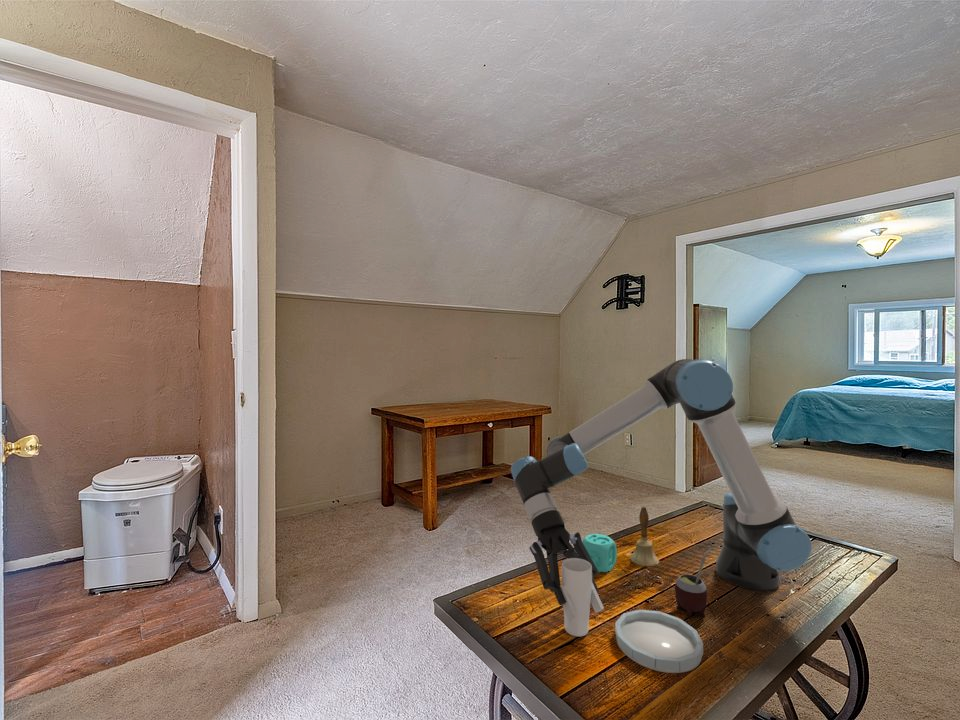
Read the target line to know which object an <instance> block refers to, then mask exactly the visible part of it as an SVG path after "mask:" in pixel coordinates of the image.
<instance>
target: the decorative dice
mask: <svg viewBox="0 0 960 720" xmlns="http://www.w3.org/2000/svg"><path fill="white" fill-rule="evenodd" d="M582 543H583V544H584V546H585V548H586V550H587V552H588V553H589V555H590V557H591V559H592V561H593V562H594V564H595V566H596V568H597V570H598V572H597V573H600V572H604V573H608V571H609V572H610V571H612V570H613V568H614V567H615V565H616V562H617V558H618V549H617V544H616V542H615V541H614V539H612V538H611V537H609V536H608V535H605V534H601V533H589V534H588V535H586V536H584V538H583V539H582Z"/></svg>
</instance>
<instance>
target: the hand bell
mask: <svg viewBox="0 0 960 720" xmlns="http://www.w3.org/2000/svg"><path fill="white" fill-rule="evenodd" d="M639 523H640V527H641V530H640V531H641V534H640V536H641V539H638V540H637V541H636V544H635V545H636V546H635V548H634V551H633V553H631V555H630V556H629V560H630V559H631V560H630V561H631V562H632V563H634V564H635V563H636V564H635V565H638V566H642V567H647V568H648V567H655V566H658V565H659V564H660V560H659V558H658V557H657V556H656V554H655V552H654V548H653V542H652V541H651V540H648V525H649V513H648V510H647V507H646V506H641V509H640V513H639Z"/></svg>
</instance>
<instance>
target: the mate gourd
mask: <svg viewBox="0 0 960 720" xmlns="http://www.w3.org/2000/svg"><path fill="white" fill-rule="evenodd" d="M712 550H713V548H712V547H710V548H709V549H708V550H707V551H705V553H704V555H703V556H702V557H701V560H700V564H699V568H698V572H697V575H693V574H682V575H680V576H679V577H677V578H676V581H675V584H674V595H675V600H676V604H677V605H676V609H677V610H679V611H681V612H685V613H687V614H686V619H688V620H691V618H692V617H693V615H694V616H699V617H701V618H705V617H706V614H705V611H706V610H707V606H708V590H707V586H706V584H705V583H704V581H703V579H701V578H700V577H701V574H702V570H703V566H704V564H705V562H706V558H707V556H708V555H709V554H710V553H711V551H712Z"/></svg>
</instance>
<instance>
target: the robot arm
mask: <svg viewBox="0 0 960 720" xmlns="http://www.w3.org/2000/svg"><path fill="white" fill-rule="evenodd" d="M732 379H733V378H731V375H730V373H729V372H728V371H727V370H726V369H725V368H724V367H723V366H722V365H720V364H718V363H716V362H713V361H711V360H709V359H691V358H685V359H683V358H682V359H678V360H676V361H674V362H672V363H670V364H668V365H667V366H665V367H664V368H662V369H661V370H659V371H658V372H656V373H655V374H653V375H652V376H651V377H648V378H647V379H646V380H645V381H644V384H643V386H642V387H639V388H637V389H636V390H635V391H633V392H632V393H630V394H628V395H627V396H626V397H624V398H622V399H620V400H619V401H617V402H616V403H614V404H612V405H611V406H609V407H607V408H606V409H604V410H603V411H601V412H599V413H598V414H595V416H593V417H591V418H590V419H588V420H587V421H584V422H583V423H582V424H580V425H579V426H578V425H577V427H575V428H573V429H572V430H570V431H568V432H567V433H565V434H564V435H562V436H561V437H560V436H557V437H555V438H553V439H551V440H550V442H549V443H548V445H547V448H546V455H547V456H544V457H543V458H541V459H539V460H537V459H536V458H535V457H534V456H530V455H529V456H528V455H527V456H524V457H520V458H518V459H516V460H515V461H514V462H513V463H512V464H511V467H510V472H511V476H512V478H513V483H514V485H515V487H516V489H517V492H518V494H519V497H520V499H521V502H522V504H523V506H524V508H525V511H526V513H527V516H528V518H529V521H531V522H530V523H531V526H532V529H533V531H534V534H535V536H536V537H537V541H534V542H533V543H532V544H531V545H530V546H529V550H530V552H531V554H532V556H533V557H534V560H535V564H536V568H537V570H538V574H539V577H540V581H541V584H542V587H543V589H544V590H550V592H552V593H554V595H555V598H556V601H557V603H558V605H559V606H562V608H563V612H564V611H565V613H566V616H567V618H568V620H569V622H571V621H573V620H574V619H576V618H577V615H576V612H575V610H574V607H573V605H572V603H571V600H570V598H569V595H568V593H567V591H566V588H565V586H562V583H561V577H560V570H559V561H558V554H560V555H561V554H562V555H563V557H565V558H566V559H569V558H579V559H583V560H586V561H588V562H589V563H590V564H591V565H592V592H591V602H590V605H591V606H592V608H593V611H594V613H595V614H597V613H600V612H601V611H602V610H604V609H605V607H604V605H603V603H602V600H601V598H600V596H599V593H600V592H599V591H600V590H599V587H598V586H597V583H596V581H595V579H594V577H595V576H596V575H597V573H599V572H598V570H597V568H596V566H595V564H594V562H593V561H592V559H591V557H590V555H589V553H588V552H587V550H586V548H585V546H584V544H583V543H582V541H583V539H582V536H581V533H580V532H578V531H577V532H575V533H570V532H569V531H568V530H567V529H566V527H565V521H564V520H563V517H562V515H561V513H560V511H559V510H558V506H557V503H556V502H555V500H554V497H553V495H552V493H551V491H550V489H551V488H553V487H554V486H557V485H559V484H560V483H563V482H565V481H567V480H570V479H572V478H574V477H576V476H579V475H580V474H581V473H583V472H585V471H586V470H587V469H589V462H588V461H587V458H586V457H585V455H586V454H588V453H589V452H591V451H592V450H594V449H595V448H597V447H599V446H600V445H602V444H604V443H605V442H607V441H609V440H611V439H613V437H616V436H617V435H619V434H621V433H622V432H624V431H625V430H627V429H629V428H631V427H633V425H635V424H637V423H639V422H640V421H642V420H644V419H645V418H647V417H649V416H650V415H652V414H654V413H655V412H657V411H658V410H660V409H661V410H668V409H669V408H671V407H672V406H675V405H677V404H679V405H680V406H681V408H682V410H683V412H684V414H685V416H686V418H687V420H688V421H690V422H692V423H694V424H697V427H698V428H699V431H700V432H701V434H702V437H703V439H704V441H705V442H706V445H707V447H708V449H709V451H710V453H711V455H712V457H713V459H714V462H715V463H716V465H717V468H718V469H719V471H720V475H721V476H722V478H723V479H724V482H725V485H726V486H727V488H728V490H729V492H727V493H726V494H725V495H724V497H723V503H722V507H723V509H722V510H723V520H722V521H723V522H722V523H723V524H722V526H723V527H722V529H723V531H722V534H723V536H722V537H723V538H722V540H723V541H722V542H723V543H722V545H721V549H720V551H719V554H718V556H717V559H716V562H715V572H716V574H717V576H719V577H720V578H721V579H723V580H724V581H726V582H728V583H729V584H732V585H734V586H737V587H740V588H743V589H748V590H752V591H764V592H765V591H773V590H775V589H777V588H778V587H779V585H780V574H779V571H780V572H789V571H795V570H797V569H798V568H801V567H802V566H803V565H805V564H806V563H807V561H808V558H809V557H810V556H811V555H812V550H813V547H812V541H811V539H810V536H809V535H808V533H807V532H806V531H805V530H804V529H803V528H802V527H800V526H798V525H797V524H796V523H795V520H794V519H793V516H792V514H791V512H790V510H789V508H788V506H787V505H786V503H785V502H784V501H782V500H780V499H778V498H775V494H774V493H773V491H772V490H771V486H770V484H768V481H767V479H766V477H765V474H764V473H763V470H762V469H761V467H760V464H759V462H758V460H757V459H756V457H755V454H754V452H753V451H752V448H751V446H750V444H749V442H748V440H747V438H746V436H745V434H744V431H743V430H742V428H741V426H740V424H739V421H738V419H737V418H736V415H735V414H734V410H735V407H736V405H737V402H736V400H735V398H734V397H733V394H732V393H733V391H734V385H733V384H734V383H733V380H732ZM543 550H545V551H546V553H545V554H546V558H545V554H544V551H543ZM547 561H548V564H547Z"/></svg>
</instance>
